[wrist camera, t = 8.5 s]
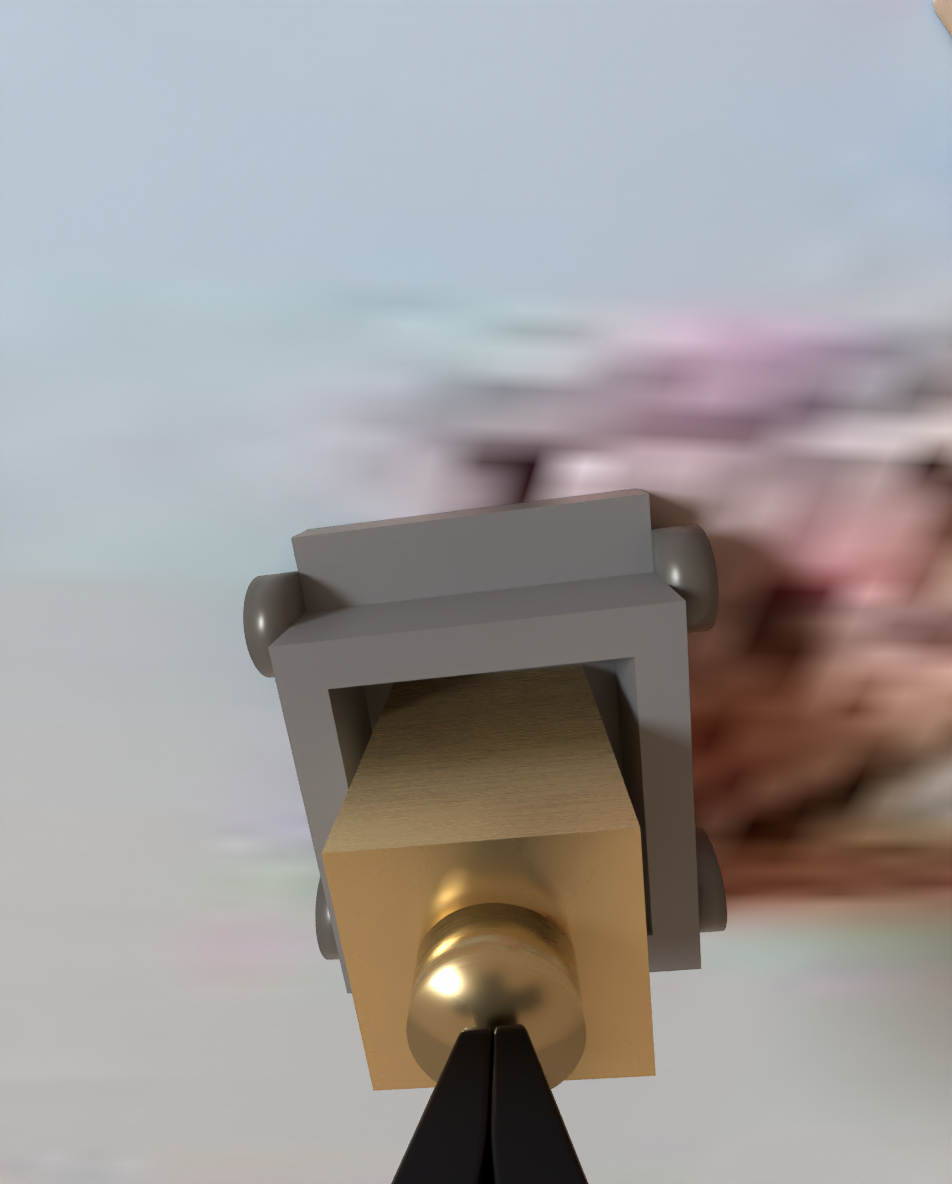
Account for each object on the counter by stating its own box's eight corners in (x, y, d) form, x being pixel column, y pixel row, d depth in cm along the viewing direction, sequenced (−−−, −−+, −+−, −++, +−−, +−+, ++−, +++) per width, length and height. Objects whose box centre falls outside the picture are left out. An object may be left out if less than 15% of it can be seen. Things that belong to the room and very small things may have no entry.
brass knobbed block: (595, 829, 15) (673, 1150, 8) (420, 843, 15) (359, 1163, 9) (582, 664, 14) (659, 880, 7) (393, 683, 14) (298, 907, 8)
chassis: (697, 906, 17) (748, 1027, 14) (355, 932, 18) (319, 1053, 14) (679, 483, 14) (739, 499, 11) (268, 534, 15) (196, 565, 11)
